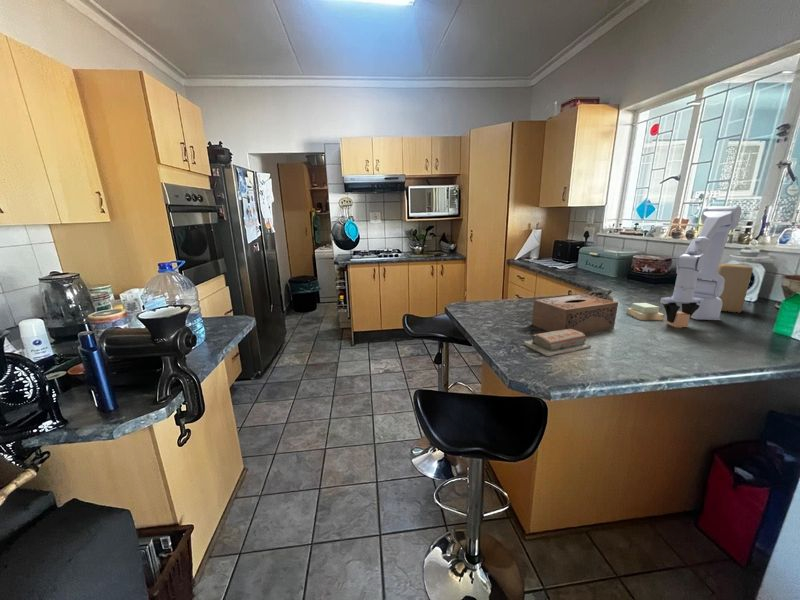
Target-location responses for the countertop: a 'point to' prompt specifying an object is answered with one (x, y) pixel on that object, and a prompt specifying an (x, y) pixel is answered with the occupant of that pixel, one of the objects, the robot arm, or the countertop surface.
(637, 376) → the countertop surface
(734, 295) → the wooden block
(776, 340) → the countertop surface
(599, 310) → the tissue box cover
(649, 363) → the countertop surface
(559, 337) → the packaged product
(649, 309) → the sage block
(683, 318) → the terracotta cube
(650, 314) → the maple slab
